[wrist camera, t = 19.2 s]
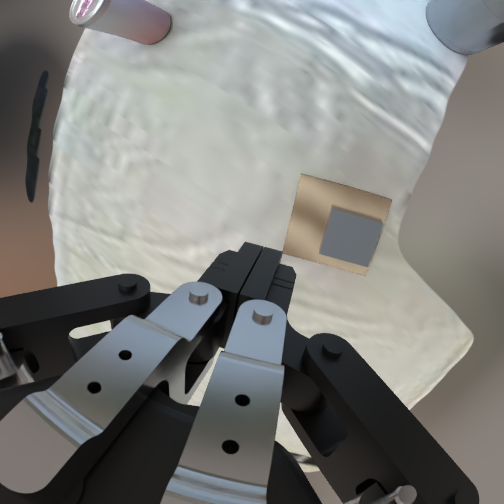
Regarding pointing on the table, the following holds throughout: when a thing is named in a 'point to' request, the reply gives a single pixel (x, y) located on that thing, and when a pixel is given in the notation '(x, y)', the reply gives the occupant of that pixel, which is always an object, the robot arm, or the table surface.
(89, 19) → the beverage can
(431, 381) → the table surface
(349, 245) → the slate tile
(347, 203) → the tan wavy tile
